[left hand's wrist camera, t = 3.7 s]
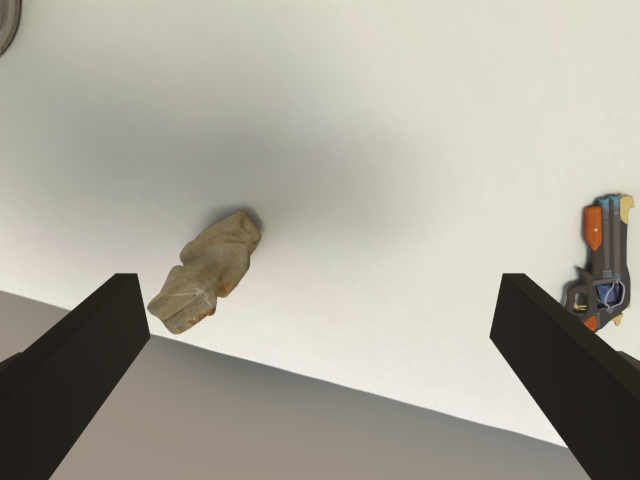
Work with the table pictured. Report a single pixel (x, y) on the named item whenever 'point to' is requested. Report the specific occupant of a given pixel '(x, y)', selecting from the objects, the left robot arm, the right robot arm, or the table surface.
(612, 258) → the toy gun
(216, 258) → the sculpture
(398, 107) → the table surface
